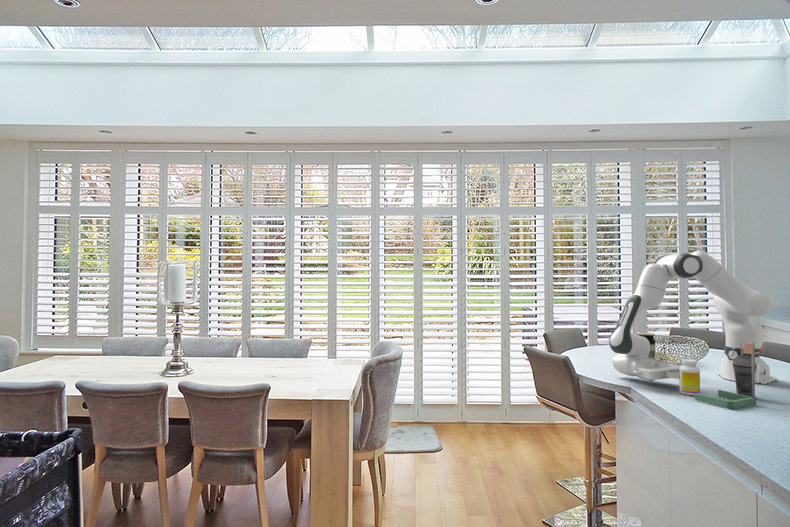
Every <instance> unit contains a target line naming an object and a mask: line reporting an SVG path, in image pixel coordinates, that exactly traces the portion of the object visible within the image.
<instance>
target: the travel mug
mask: <svg viewBox="0 0 790 527" xmlns="http://www.w3.org/2000/svg"><path fill="white" fill-rule="evenodd" d="M636 335H639V336H642V337H645V338H647V339H648V340H649V342H650V346H651V349H650V353H649V356H648V359H653V360H656V340H655V338H654V337H655V335H656V334H655V333H653V332H645V331H644V332H643V331H639V332H636Z"/></svg>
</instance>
